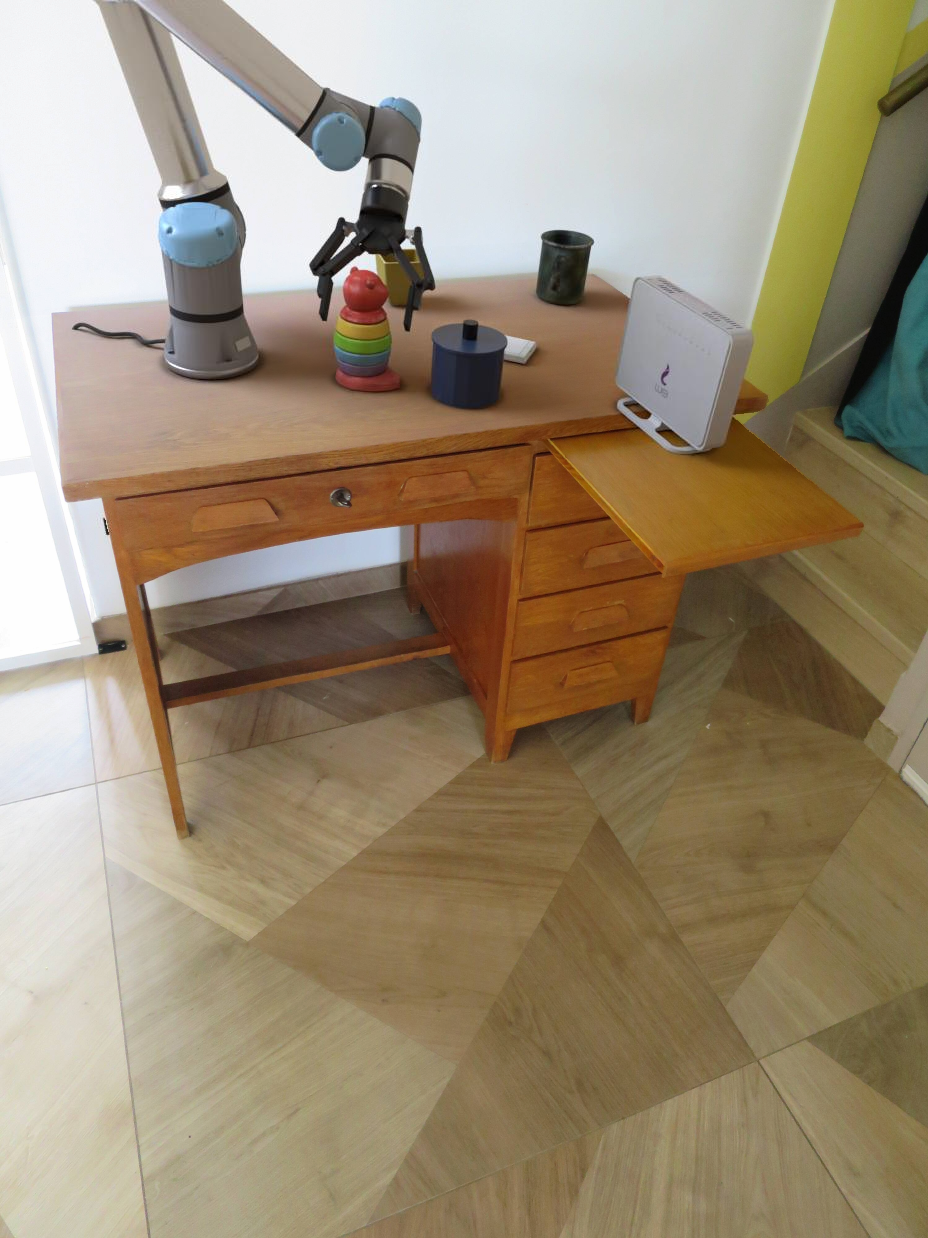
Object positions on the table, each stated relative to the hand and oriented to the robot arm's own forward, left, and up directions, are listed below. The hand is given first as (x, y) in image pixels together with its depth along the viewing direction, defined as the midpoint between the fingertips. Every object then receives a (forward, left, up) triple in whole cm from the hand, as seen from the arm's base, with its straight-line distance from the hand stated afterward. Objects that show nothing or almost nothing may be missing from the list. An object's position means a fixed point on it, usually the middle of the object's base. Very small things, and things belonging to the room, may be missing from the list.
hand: (364, 322), depth 140 cm
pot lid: (+17, +1, -1) cm, 17 cm away
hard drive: (+20, +21, -10) cm, 31 cm away
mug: (+29, +52, -10) cm, 60 cm away
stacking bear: (0, +1, -10) cm, 10 cm away
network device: (+50, -1, -10) cm, 51 cm away
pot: (+17, +1, -10) cm, 20 cm away
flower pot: (-2, +39, -10) cm, 40 cm away
